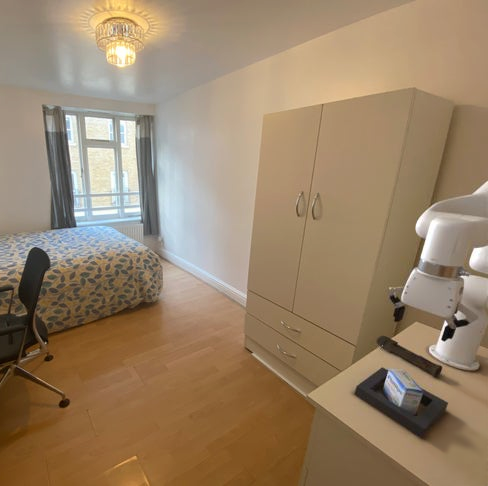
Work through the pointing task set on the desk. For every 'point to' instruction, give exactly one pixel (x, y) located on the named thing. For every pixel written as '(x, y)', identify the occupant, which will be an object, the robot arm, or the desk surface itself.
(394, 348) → the hand tool
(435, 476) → the desk surface
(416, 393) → the medicine box
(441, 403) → the holder
